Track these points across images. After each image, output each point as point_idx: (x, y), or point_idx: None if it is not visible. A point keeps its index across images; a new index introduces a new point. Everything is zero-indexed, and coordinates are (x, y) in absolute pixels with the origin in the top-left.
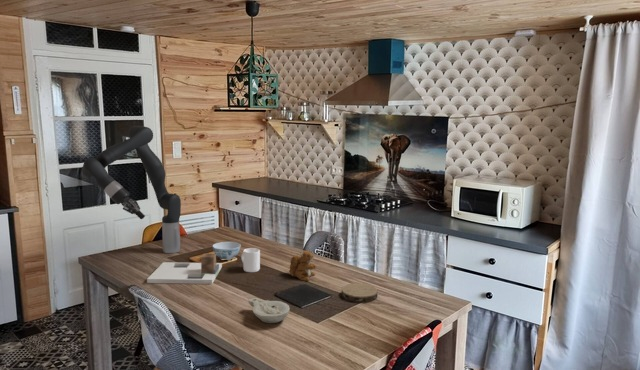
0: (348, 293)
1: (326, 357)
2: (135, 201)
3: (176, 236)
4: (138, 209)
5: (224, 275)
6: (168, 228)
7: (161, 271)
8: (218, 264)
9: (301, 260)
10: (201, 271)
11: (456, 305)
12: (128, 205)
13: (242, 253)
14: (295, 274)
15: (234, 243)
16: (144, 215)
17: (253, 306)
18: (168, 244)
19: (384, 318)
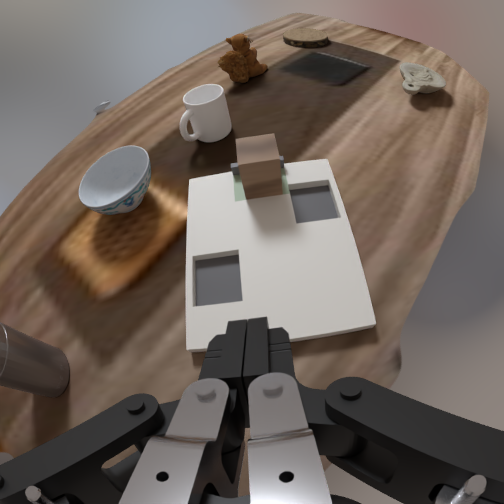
0: (322, 38)
1: (453, 65)
2: (10, 488)
3: (25, 336)
4: (224, 393)
5: None
6: (6, 352)
7: (292, 312)
8: (232, 164)
9: (246, 49)
10: (282, 190)
11: (305, 14)
12: (487, 478)
13: (185, 122)
14: (252, 74)
15: (90, 172)
16: (234, 322)
17: (431, 85)
18: (49, 369)
19: (359, 34)
